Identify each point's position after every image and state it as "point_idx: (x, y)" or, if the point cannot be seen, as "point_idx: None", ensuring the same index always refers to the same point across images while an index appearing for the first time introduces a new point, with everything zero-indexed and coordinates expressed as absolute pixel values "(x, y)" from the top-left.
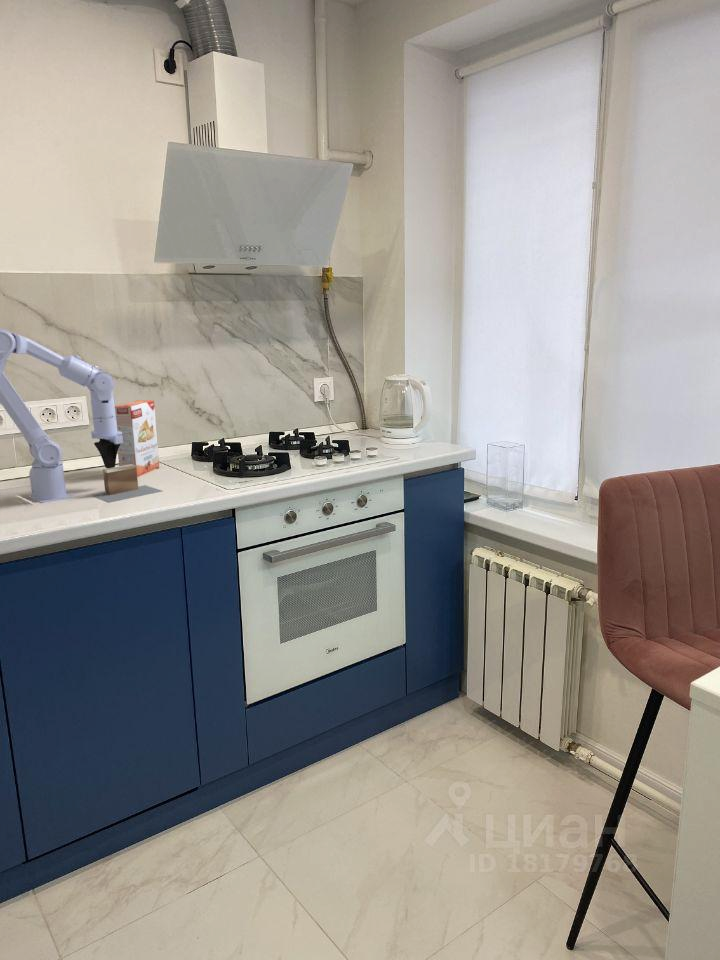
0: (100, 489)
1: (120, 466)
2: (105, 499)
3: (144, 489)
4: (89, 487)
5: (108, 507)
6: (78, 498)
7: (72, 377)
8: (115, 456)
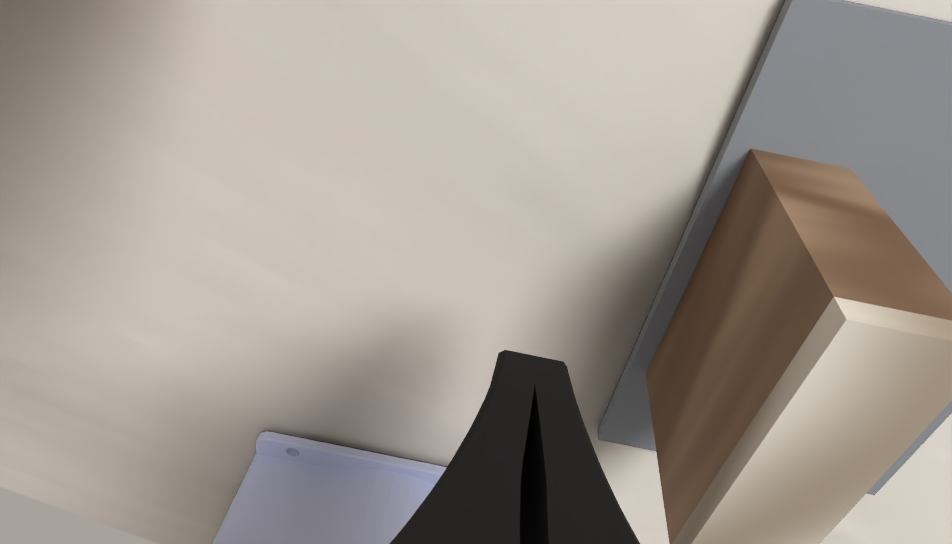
0: (430, 273)
1: (780, 453)
2: None
3: (929, 142)
4: (282, 269)
5: (922, 521)
6: None
7: None
8: (599, 485)
